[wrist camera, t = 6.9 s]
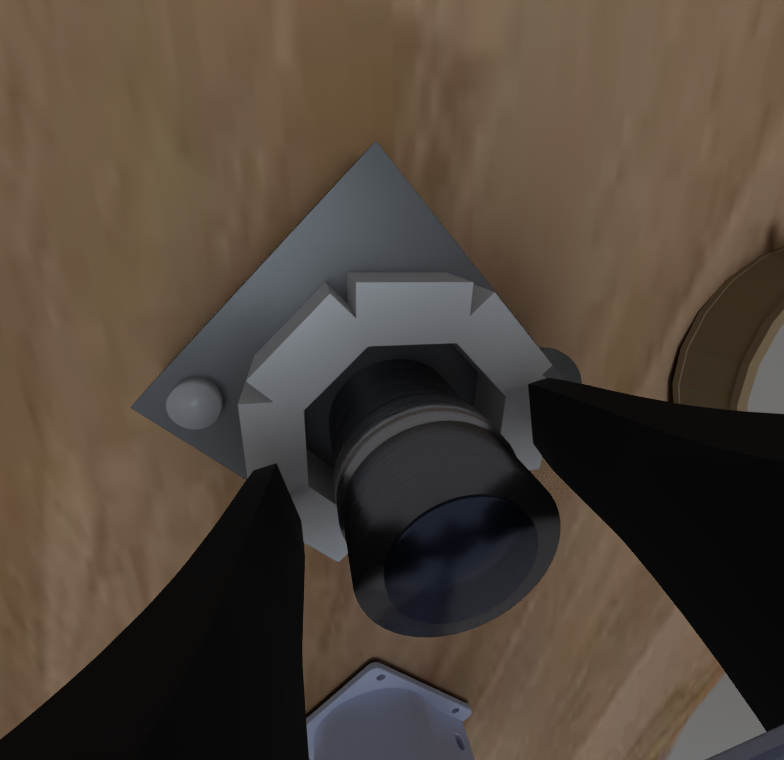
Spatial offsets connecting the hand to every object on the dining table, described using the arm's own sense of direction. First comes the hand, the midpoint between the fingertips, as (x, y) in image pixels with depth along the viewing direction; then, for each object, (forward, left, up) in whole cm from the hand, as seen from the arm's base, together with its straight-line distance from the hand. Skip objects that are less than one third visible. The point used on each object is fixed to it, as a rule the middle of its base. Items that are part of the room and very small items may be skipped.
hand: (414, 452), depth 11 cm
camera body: (0, 0, -6) cm, 6 cm away
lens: (0, 0, -3) cm, 3 cm away
